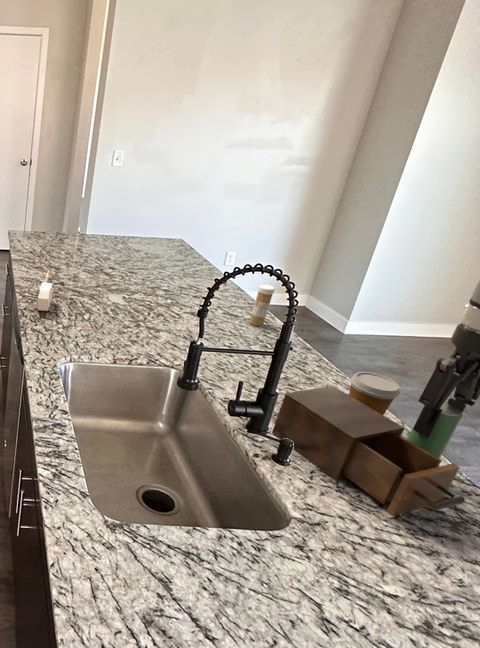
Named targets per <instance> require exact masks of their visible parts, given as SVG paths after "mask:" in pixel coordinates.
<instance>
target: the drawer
mask: <svg viewBox="0 0 480 648" xmlns="http://www.w3.org/2000/svg"><path fill="white" fill-rule="evenodd" d="M441 463H442V459H441V458H440V459H438V458H437V457H435V456H433V455H432V454H430V453H429V452H427V451H425V450H424V449H422V448H420V447H419V446H417V445H415V444H414V443H412V442H410V441H409V440H407V438H405V437H404V436H402V435H401V436H400V435H399V434H397V433H393V434H388V435H383V436H378V437H373V438H368V439H363V440H358V441H355V444H354V446H353V448H352V451H351V453H350V455H349V457H348V460H347V462H346V464H345V467H344V469H343V471H342V474H343V475H344V476H345V477H347V478H346V479H348V480H349V481H351V482H352V483H354V484H355V485H356V486H358V487H359V488H360V489H362V490H363V491H364V492H366V493H367V494H368V495H370V496H372V497H373V498H374V499H375V500H377V501H378V502H379V503H380V504H383V505H385V504H388V503H389V505H388V508H387V510H386V512H387V514H389V515H390V516H392V517H395V516H398V515H401V514H405V513H409V512H413V511H417V510H420V509H425V508H430V509H431V510H432V511H438V510H443V509H446V508H450V507H454V506H457V505H462V504H465V502H466V498H465V497H464V496H462V495H459V494H458V495H456V494H454V492H452V491H451V490H449V488H450V487H451V485H452V482H453V481H454V479H455V477H456V475H457V473H458V472H459V470H460V466H458V465H457V464H455V463H449V464H444V465H441V466H440V464H441ZM445 495H446V496H449V497H446V498H444V497H445Z"/></svg>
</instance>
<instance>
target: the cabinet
mask: <svg viewBox="0 0 480 648" xmlns="http://www.w3.org/2000/svg"><path fill="white" fill-rule="evenodd" d="M274 423H275V424H274V425H273V429H272V431H271V433H272V434H273V435H274V436H276V437H277V438H278V439H280V440H281V439H283V438H288V439H290V440H292V441H293V442H294V449H293V450H294V451H295V452H297V453H298V454H299V455H301V456H302V457H304V459H306V460H307V461H309V462H310V463H311V464H312V465H314V466H315V467H317V469H319V470H321V471H322V472H323V473H324V474H326V475H327V476H328V477H329V478H331V479H332V480H334V481H335V482H337V481H340V480H344V479H348V478H347V477H345V476H344V475H343V474H342V471H343V469H344V467H345V464H346V462H347V460H348V457H349V455H350V453H351V451H352V448H353V446H354V444H355V441H358V440H363V439H368V438H373V437H378V436H383V435H388V434H393V433H397V434H399V435H400V436H402V434H403V433H404V430H405V427H404V426H402V425H401V424H399V423H397V422H396V421H393V420H392V419H391V418H389V417H387V416H386V415H382V414H380V413H378V412H377V411H375V410H373V409H371V408H370V407H368V406H366V405H365V404H363V403H361V402H359V401H358V400H356V399H354V398H353V397H351V396H349V394H347V393H346V392H344V391H342V390H340V389H339V388H337V387H335V386H334V385H328V386H323V387H316V388H309V389H305V390H304V389H303V390H298V391H292V392H285V394H284V397H283V399H282V403H281V406H280V408H279V411H278V414H277V417H276V420H275V422H274Z"/></svg>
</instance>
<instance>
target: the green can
mask: <svg viewBox="0 0 480 648" xmlns="http://www.w3.org/2000/svg"><path fill="white" fill-rule="evenodd" d="M447 402H448V401H447ZM447 402H446V401H445V402H444V404H443V405H442V406H441V408H440V409H442V412H441V414H440V416H439V418H438V420H437V422H436V424H435V426H434V428H433V430H432V432H431V434H430V436H429V437H425V436H423V435H421V434H420V433H418V432H416V431H414V430H413V428H414V426H415V424H416V422H417V420H418V418H419V416H420V414H421V412H422V410H423V408H424V406H425V405H424V404H423V405H422V408H421V410H420V412H419V413H418V416H417V417H416V420H415V422H414V424H413V427H412V428H411V430H410V433H409V434H408V436H407V438H406V439H407V440H409V441H410V442H412V443H414V444H415V445H417V446H419V447H420V448H422V449H424V450H425V451H427V452H429V453H430V454H432V455H433V456H435V457H437V458H438V459H440V460H441V457H442V455H443V453H444V452H445V450H446V448H447V446H448V444H449V442H450V440H451V438H452V436H453V435H454V433H455V431H456V429H457V428H458V425H459V423H460V421H461V419H462V418H463V413H462V412H461V410H460V409H459V408H457V407H456V406H454V405H452V404H449V403H447Z"/></svg>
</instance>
